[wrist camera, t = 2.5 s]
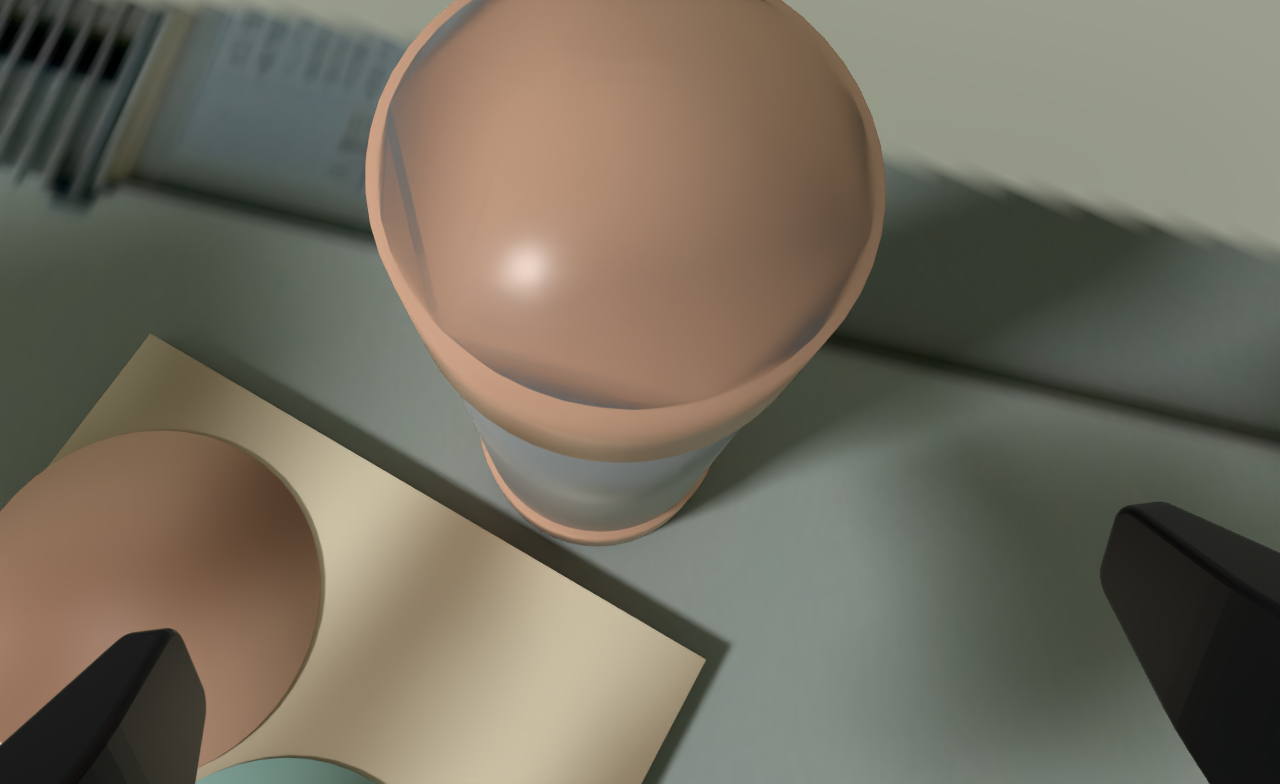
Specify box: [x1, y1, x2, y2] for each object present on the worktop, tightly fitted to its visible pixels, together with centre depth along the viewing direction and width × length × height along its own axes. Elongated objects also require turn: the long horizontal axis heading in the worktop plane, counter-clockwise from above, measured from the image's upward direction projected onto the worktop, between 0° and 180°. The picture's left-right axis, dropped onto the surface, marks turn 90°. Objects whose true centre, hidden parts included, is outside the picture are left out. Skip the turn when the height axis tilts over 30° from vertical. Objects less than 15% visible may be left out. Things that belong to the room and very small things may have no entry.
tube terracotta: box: [366, 0, 886, 546], centre depth 14 cm, size 5×5×12 cm
